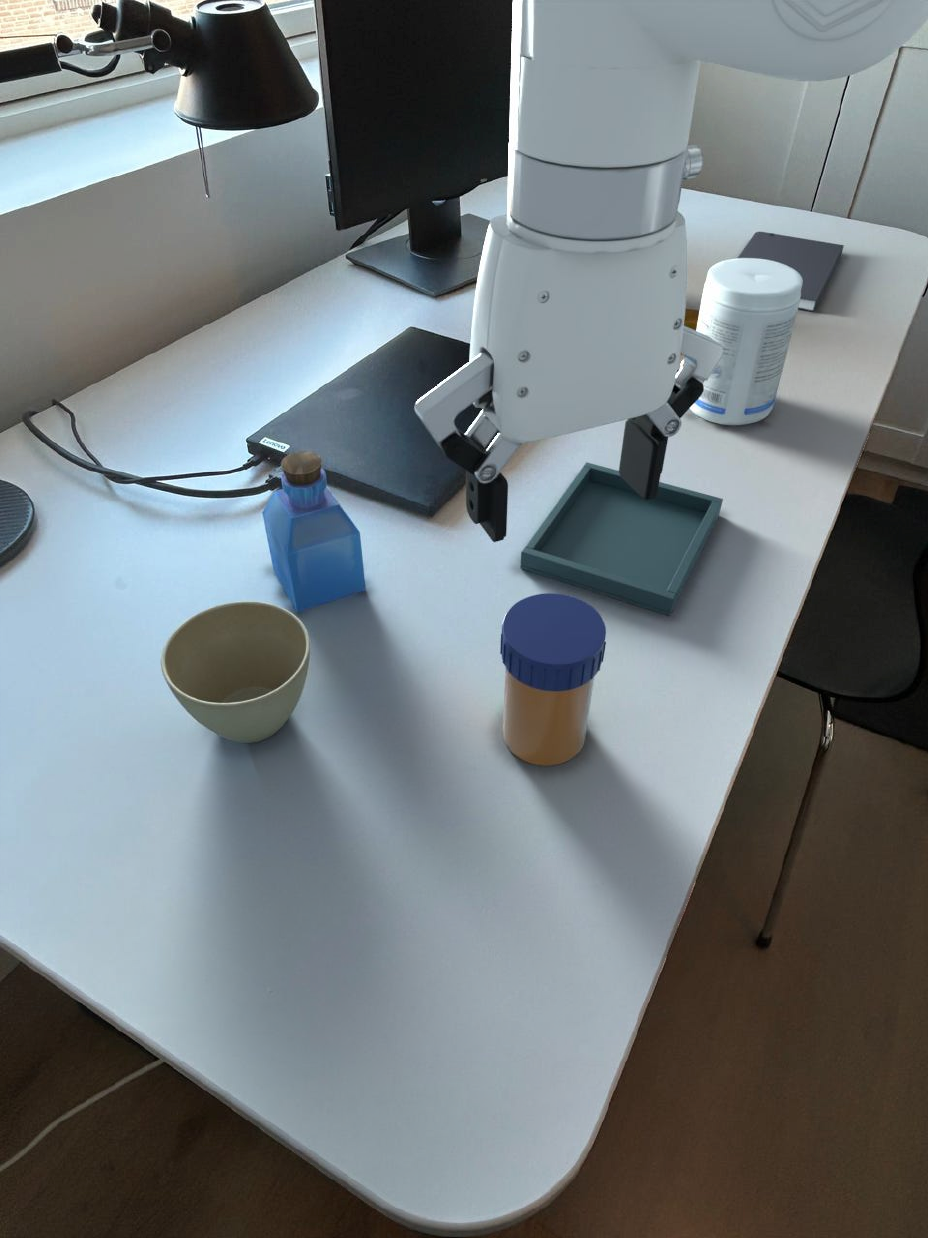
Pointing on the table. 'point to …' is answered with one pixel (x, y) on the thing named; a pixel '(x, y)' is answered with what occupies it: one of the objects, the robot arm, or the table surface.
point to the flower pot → (238, 668)
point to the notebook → (798, 261)
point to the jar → (545, 721)
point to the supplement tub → (746, 336)
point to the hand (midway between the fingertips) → (564, 506)
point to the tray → (623, 539)
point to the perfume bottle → (312, 536)
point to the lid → (553, 642)
